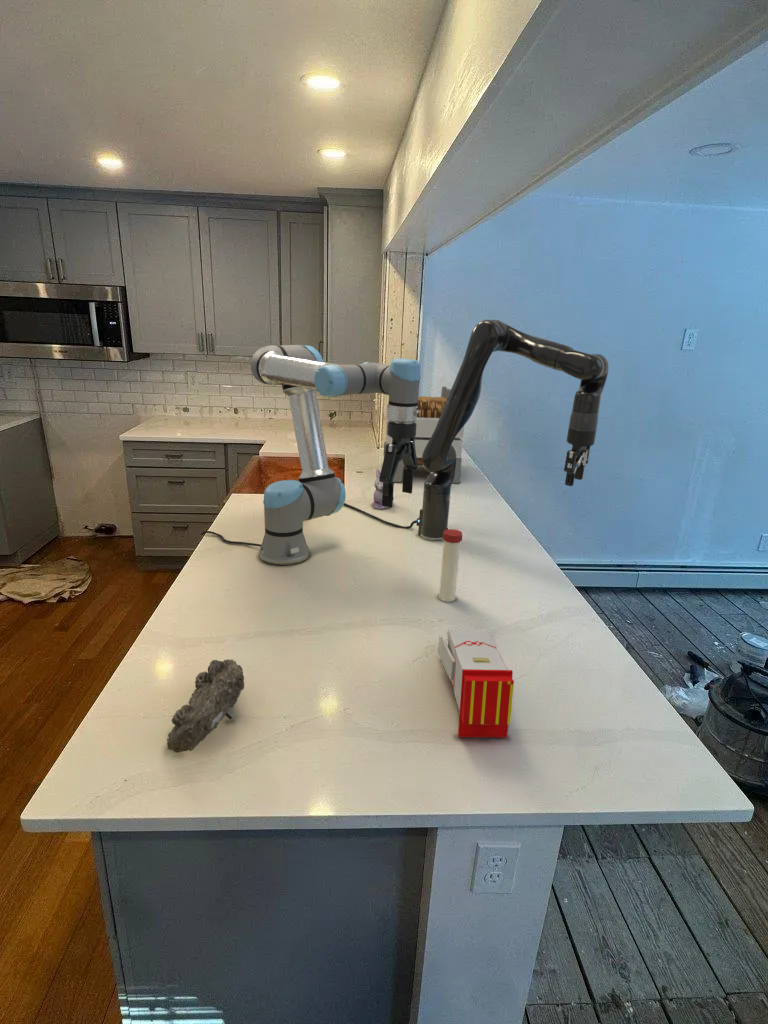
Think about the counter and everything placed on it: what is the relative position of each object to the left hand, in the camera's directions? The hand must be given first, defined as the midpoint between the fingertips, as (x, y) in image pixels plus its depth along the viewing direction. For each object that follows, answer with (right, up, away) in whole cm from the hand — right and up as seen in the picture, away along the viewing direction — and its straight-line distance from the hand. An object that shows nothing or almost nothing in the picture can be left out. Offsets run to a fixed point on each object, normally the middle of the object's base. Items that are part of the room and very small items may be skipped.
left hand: (397, 499), depth 153 cm
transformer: (+14, +15, +122) cm, 124 cm away
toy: (+14, -41, -35) cm, 56 cm away
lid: (+15, -9, -3) cm, 17 cm away
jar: (+14, -27, +4) cm, 31 cm away
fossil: (-36, -43, -45) cm, 72 cm away
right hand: (+52, +5, +12) cm, 53 cm away
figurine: (-4, -1, +74) cm, 74 cm away
